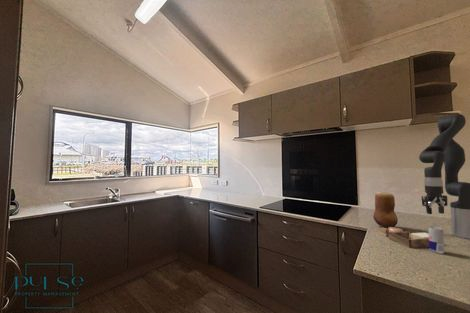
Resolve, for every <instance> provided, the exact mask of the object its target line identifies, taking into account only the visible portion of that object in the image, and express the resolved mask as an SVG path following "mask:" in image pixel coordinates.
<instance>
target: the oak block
mask: <svg viewBox="0 0 470 313" xmlns="http://www.w3.org/2000/svg"><path fill="white" fill-rule="evenodd" d="M378 235H380V236H383V237H389V229H387V228H383V227H378Z"/></svg>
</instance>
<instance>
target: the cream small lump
mask: <svg viewBox="0 0 470 313" xmlns="http://www.w3.org/2000/svg"><path fill="white" fill-rule="evenodd" d="M388 229H389V232H404V229H403V228H400V227H396V226H395V227H389V228H388Z"/></svg>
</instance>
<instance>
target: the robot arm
mask: <svg viewBox="0 0 470 313" xmlns="http://www.w3.org/2000/svg"><path fill="white" fill-rule="evenodd" d="M466 123H467V122H466V117H465V115H463V114H462V113H455V114H451V115H447V116H446V115H445V116H442V117H439V118H438V119H437V128H438V132H439V134H438V135H437V136H435V137H434V138H433V139H432V141H431V143H430V144H429V146H427V147H426V148H425V149H423V151H421V152H420V154H419V156H418V157H419V158H418V159H419V161H420V162H421V163H422V164H433V165H431V166H427V167H425V168H424V171H423V172H424V192H425V193H426V195H421V206H422V207H425V209H426V210H425V211H426V214H428V215H432V214H433V209H432V207H433V205H435V204H436V205H437V206H438V213H439V214H441V215H443V214H445V207H447V206H448V195H449V196H453V197H457V198H458V199H457V200H455V201H451V202H450V204H449V207H450V208H449V210H450V219H451V221H450V222H451V235H452V236H455V237H457V238H463V239H469V240H470V182H468V181H467V182H464V181H459V172H460V170H461V169H462V168H463V166H464V165H465V162H466V153H465V150H464V148H463V146H461V145H460V144H459V143H458V142H456V140H455V139H454V138H455V136H456V135H457V134H459V133H460V131H461V130H463V128H464V127H465V126H466ZM443 165H444V183H443V177H442V176H443V174H442V170H443V169H442V168H443ZM444 189H445V192H446V193H447V194H448V195H442V194H444Z"/></svg>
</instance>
